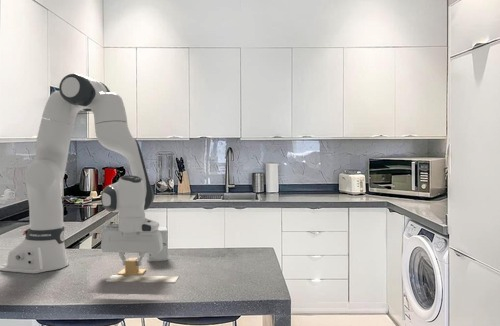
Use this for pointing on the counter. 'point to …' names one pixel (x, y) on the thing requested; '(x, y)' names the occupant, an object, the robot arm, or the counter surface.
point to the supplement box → (164, 252)
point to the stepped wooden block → (131, 268)
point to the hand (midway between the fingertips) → (132, 265)
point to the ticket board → (143, 278)
